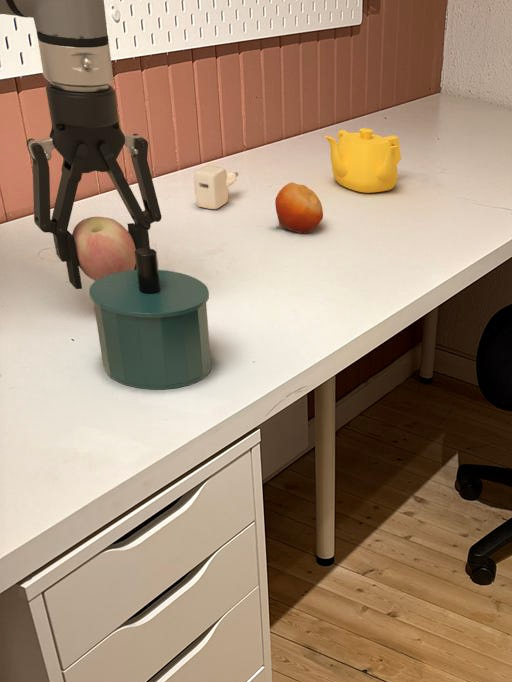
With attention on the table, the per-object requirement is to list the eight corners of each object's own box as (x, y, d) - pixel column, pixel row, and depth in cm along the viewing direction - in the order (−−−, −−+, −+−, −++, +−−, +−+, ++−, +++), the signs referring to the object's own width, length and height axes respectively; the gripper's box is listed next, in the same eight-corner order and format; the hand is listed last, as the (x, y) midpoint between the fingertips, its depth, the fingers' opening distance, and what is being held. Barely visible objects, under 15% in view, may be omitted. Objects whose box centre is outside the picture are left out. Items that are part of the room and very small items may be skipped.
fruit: (274, 207, 164) (297, 168, 159) (312, 238, 166) (335, 201, 161) (257, 220, 158) (280, 181, 153) (296, 253, 160) (320, 215, 155)
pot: (89, 353, 119) (78, 281, 113) (187, 338, 125) (180, 269, 119) (126, 397, 112) (115, 322, 106) (227, 378, 118) (223, 307, 112)
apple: (64, 279, 124) (53, 215, 119) (116, 267, 129) (107, 205, 124) (100, 299, 121) (90, 234, 115) (152, 286, 125) (144, 223, 120)
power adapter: (218, 190, 172) (216, 155, 168) (244, 194, 172) (242, 159, 168) (192, 207, 164) (189, 170, 160) (219, 212, 163) (216, 175, 160)
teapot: (323, 191, 179) (323, 133, 172) (335, 171, 189) (336, 116, 182) (395, 201, 179) (398, 143, 172) (404, 181, 189) (407, 126, 183)
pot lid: (74, 285, 114) (66, 237, 110) (183, 272, 120) (178, 226, 117) (114, 329, 106) (107, 279, 102) (228, 313, 112) (225, 265, 109)
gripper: (-6, 94, 103) (35, 302, 117) (178, 89, 113) (195, 281, 128) (-25, 77, 107) (17, 280, 122) (154, 74, 117) (173, 262, 132)
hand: (108, 281), depth 125 cm, fingers closed on apple, 8 cm apart
